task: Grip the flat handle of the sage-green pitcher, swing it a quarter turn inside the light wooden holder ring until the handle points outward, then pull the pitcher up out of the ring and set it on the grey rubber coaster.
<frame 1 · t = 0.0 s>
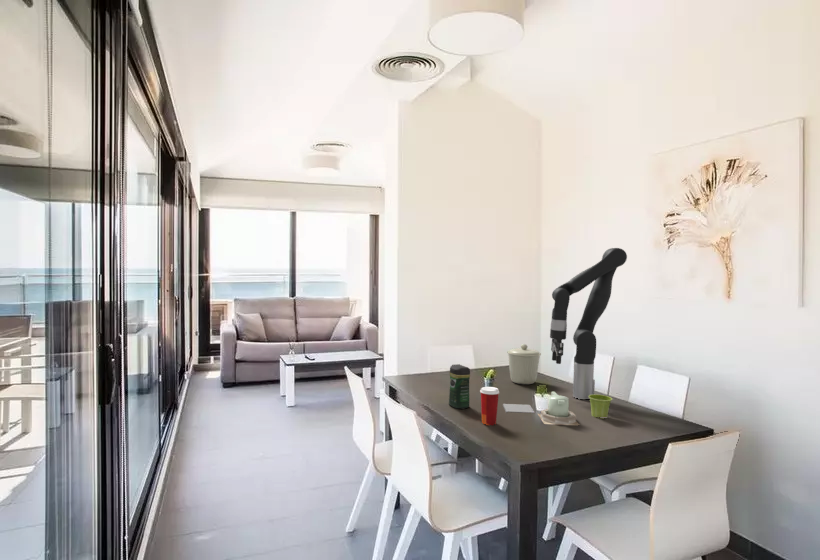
hand: (556, 362, 244), 17 cm above the table, tool pointing down, fingers open, 8 cm apart
canister: (523, 382, 274), on the table
coffee jar: (459, 406, 224), on the table
coaster: (518, 409, 221), on the table
holder: (557, 420, 206), on the table
plant pot: (599, 418, 212), on the table
pitcher: (557, 419, 206), point 1 cm above the table, touching holder
paper cup: (488, 423, 201), on the table
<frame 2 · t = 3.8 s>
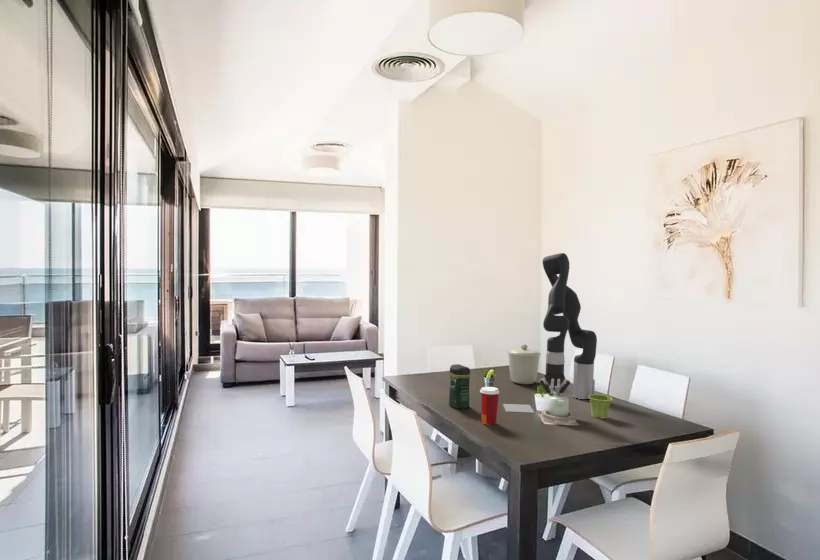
hand: (553, 402, 214), 6 cm above the table, tool pointing down, fingers closed
pitcher: (558, 419, 206), point 1 cm above the table, touching gripper, holder
everything else where it was.
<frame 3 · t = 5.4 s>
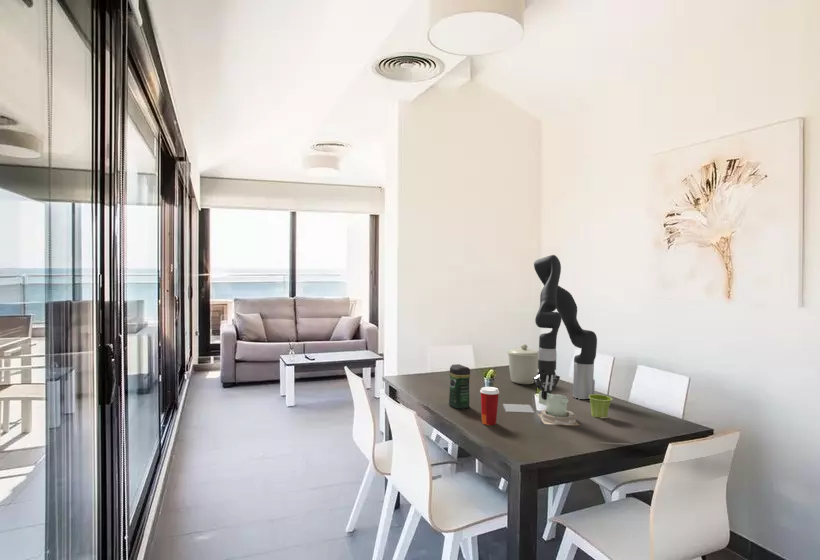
hand: (546, 399, 212), 7 cm above the table, tool pointing down, fingers closed on pitcher
pitcher: (556, 418, 207), point 1 cm above the table, touching gripper, holder
everything else where it was.
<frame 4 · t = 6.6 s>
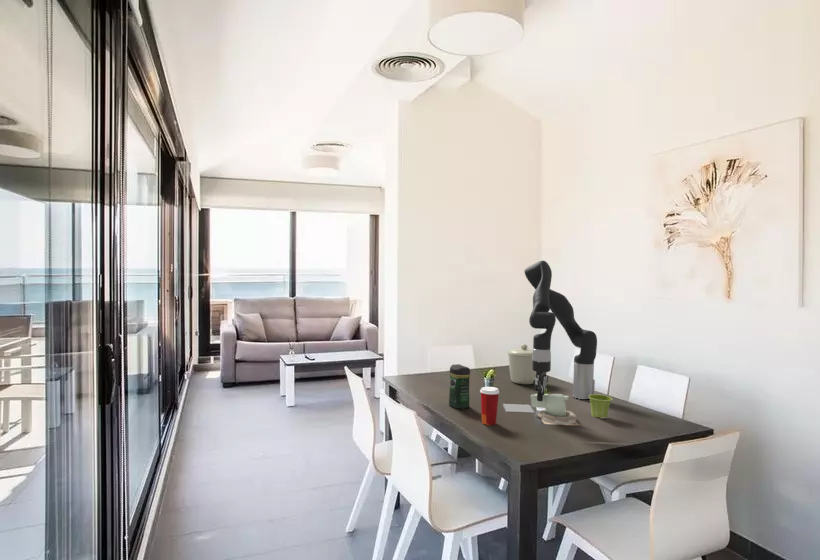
hand: (540, 400, 210), 7 cm above the table, tool pointing down, fingers closed on pitcher
pitcher: (556, 417, 206), point 1 cm above the table, tilted 7°, touching gripper, holder
everything else where it was.
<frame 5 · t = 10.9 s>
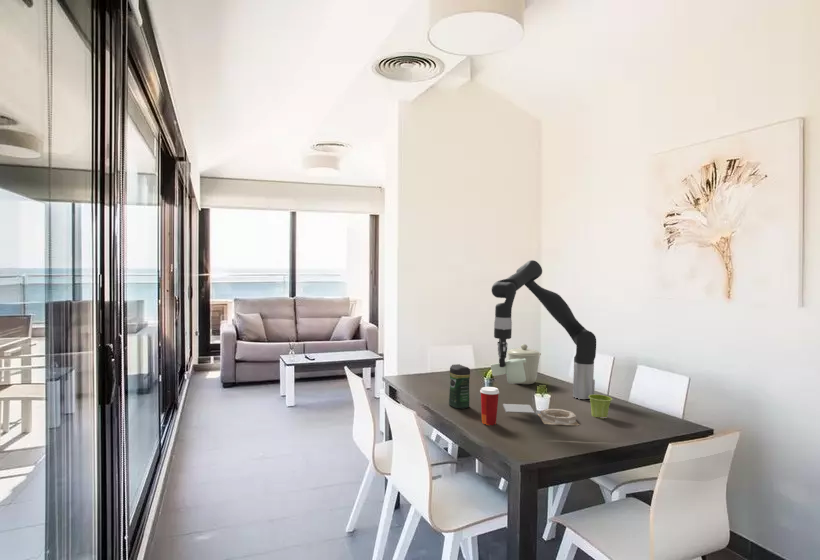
hand: (501, 366, 220), 19 cm above the table, tool pointing down, fingers closed on pitcher
pitcher: (516, 380, 220), point 13 cm above the table, tilted 12°, touching gripper
everything else where it was.
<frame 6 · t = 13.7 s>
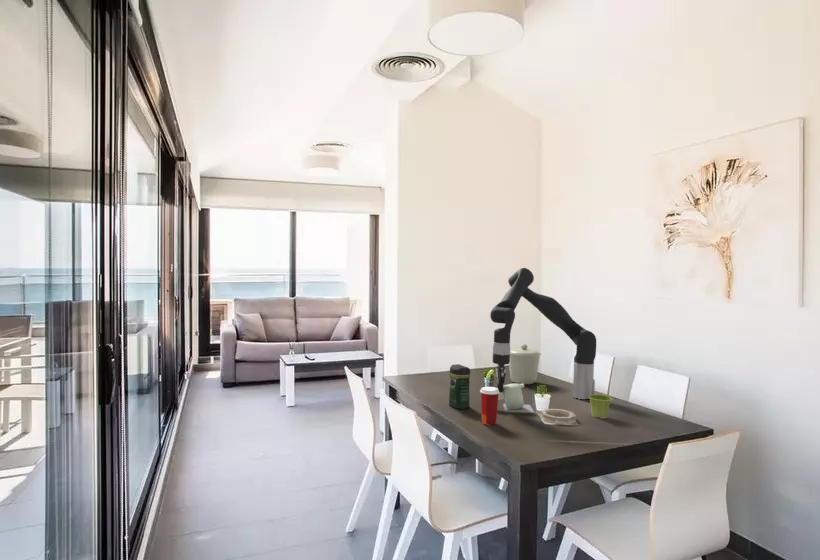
hand: (500, 391, 221), 8 cm above the table, tool pointing down, fingers closed on pitcher
pitcher: (515, 405, 221), point 2 cm above the table, tilted 12°, touching coaster, gripper
everything else where it was.
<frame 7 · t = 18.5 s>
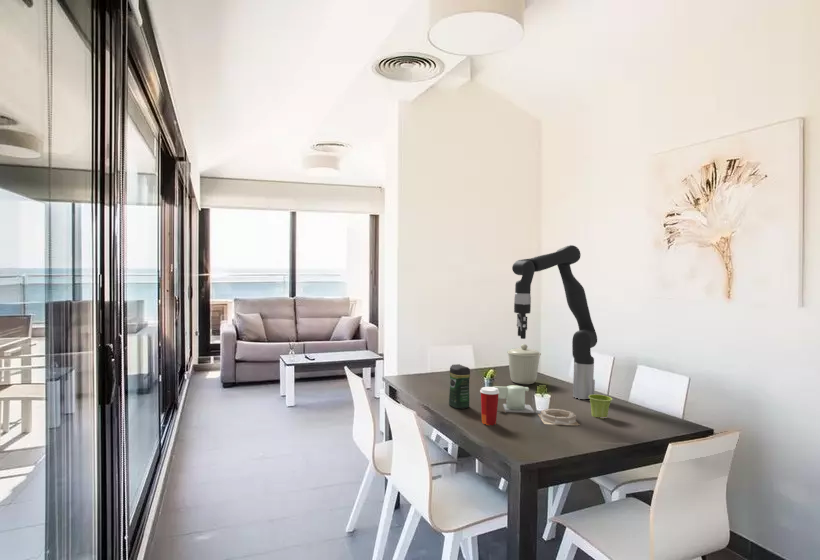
hand: (521, 337, 235), 30 cm above the table, tool pointing down, fingers open, 8 cm apart
pitcher: (515, 407, 221), point 1 cm above the table, touching coaster
everything else where it was.
at the end: pitcher 1.3 cm off-centre on the coaster, point 0.9 cm above the coaster's base; pitcher tilted 1°; the gripper is holding nothing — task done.
